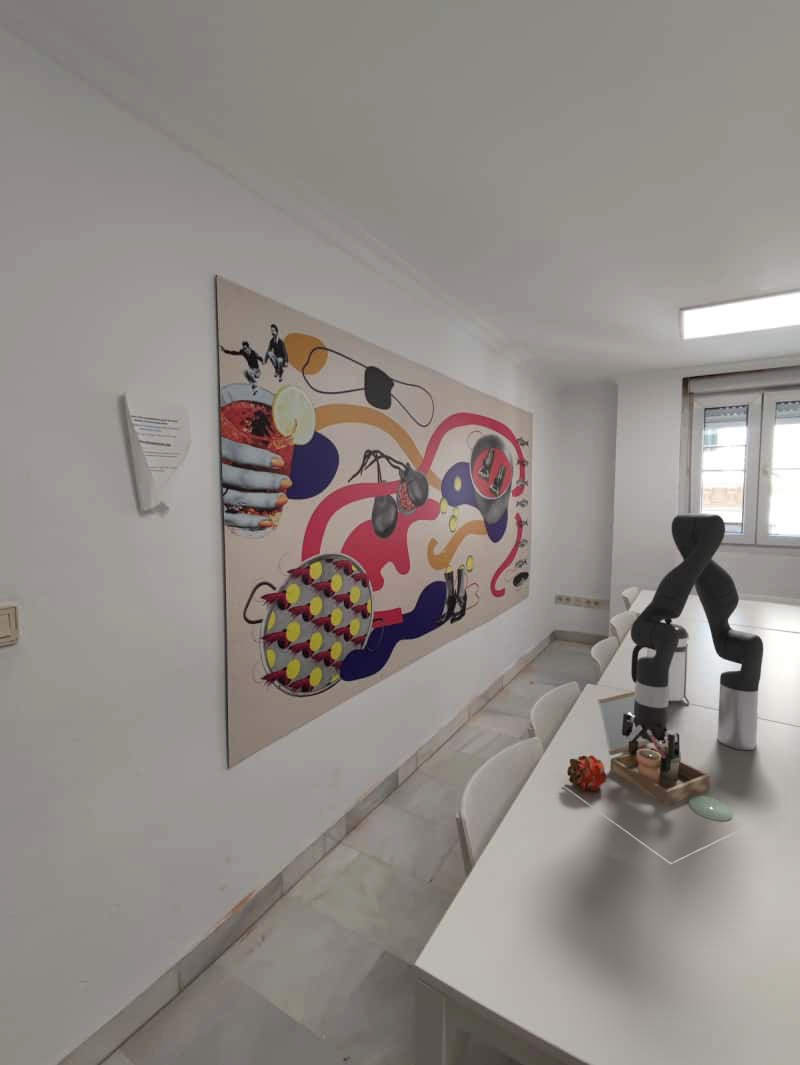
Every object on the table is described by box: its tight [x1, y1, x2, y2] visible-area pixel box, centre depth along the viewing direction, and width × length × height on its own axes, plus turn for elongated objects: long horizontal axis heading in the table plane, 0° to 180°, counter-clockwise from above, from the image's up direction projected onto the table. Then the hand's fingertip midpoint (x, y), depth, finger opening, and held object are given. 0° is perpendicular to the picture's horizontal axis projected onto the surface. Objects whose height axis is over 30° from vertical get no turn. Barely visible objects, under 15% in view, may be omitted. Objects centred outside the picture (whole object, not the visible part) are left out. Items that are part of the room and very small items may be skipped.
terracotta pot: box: [636, 748, 661, 785], centre depth 120 cm, size 6×6×7 cm
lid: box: [597, 690, 652, 756], centre depth 131 cm, size 15×14×1 cm
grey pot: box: [658, 748, 682, 780], centre depth 124 cm, size 5×5×7 cm
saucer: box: [688, 795, 733, 822], centre depth 110 cm, size 8×8×1 cm
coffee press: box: [630, 619, 690, 706], centre depth 171 cm, size 17×16×30 cm
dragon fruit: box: [567, 754, 607, 793], centre depth 119 cm, size 8×8×12 cm
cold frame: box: [609, 745, 711, 807], centre depth 125 cm, size 16×23×12 cm
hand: (648, 763), depth 120 cm, fingers open, 8 cm apart
